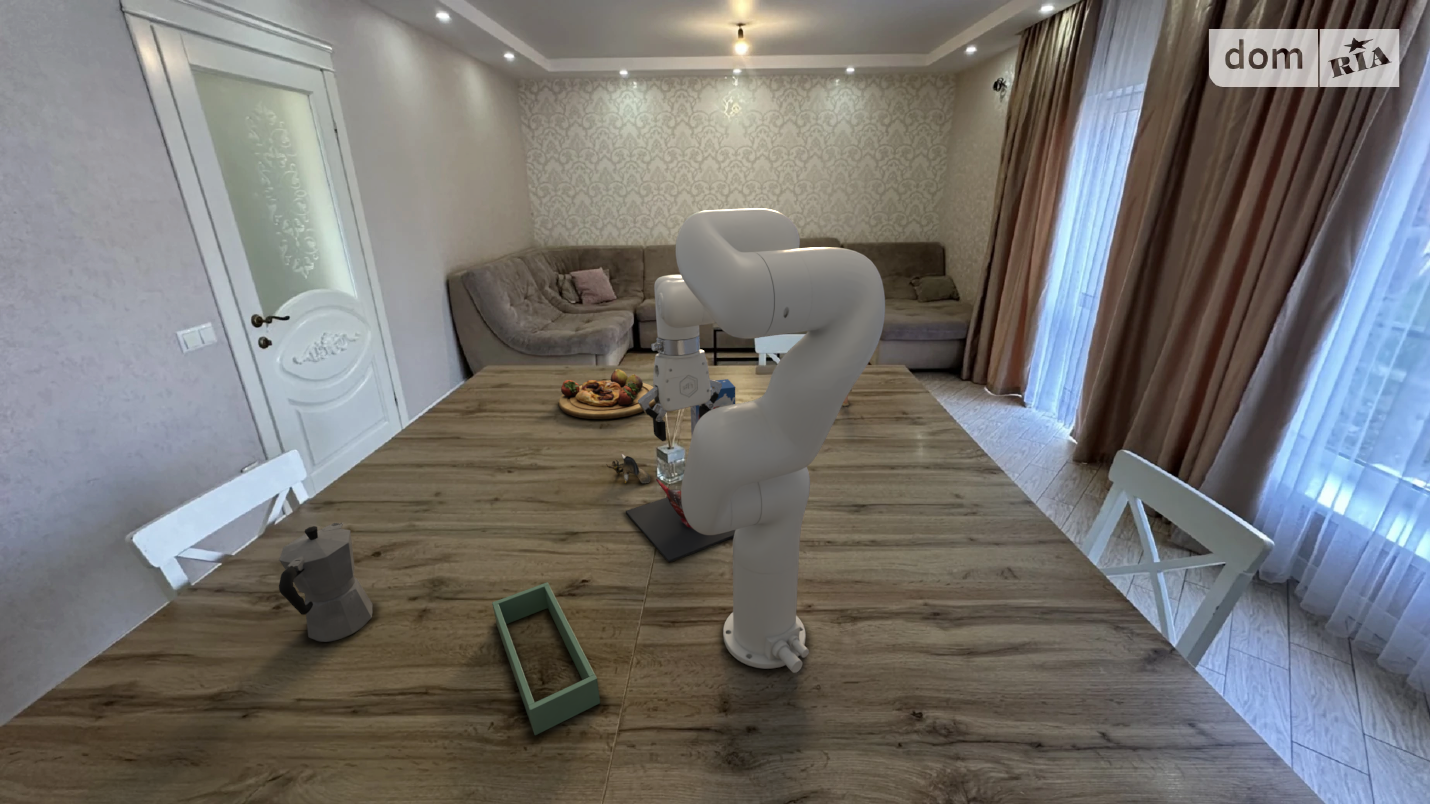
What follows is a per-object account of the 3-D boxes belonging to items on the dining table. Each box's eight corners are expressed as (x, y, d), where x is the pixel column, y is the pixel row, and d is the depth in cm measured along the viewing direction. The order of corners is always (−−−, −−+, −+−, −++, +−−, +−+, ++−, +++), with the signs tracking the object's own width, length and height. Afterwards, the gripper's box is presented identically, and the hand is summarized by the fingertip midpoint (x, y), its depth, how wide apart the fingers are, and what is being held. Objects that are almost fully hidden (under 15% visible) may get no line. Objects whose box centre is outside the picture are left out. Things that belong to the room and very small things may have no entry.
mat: (740, 534, 110) (740, 532, 109) (669, 563, 102) (668, 560, 102) (690, 491, 126) (690, 489, 125) (625, 513, 118) (625, 510, 118)
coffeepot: (333, 596, 95) (303, 506, 89) (390, 591, 96) (364, 502, 89) (276, 668, 81) (235, 567, 74) (344, 662, 82) (309, 562, 75)
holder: (600, 703, 74) (597, 678, 73) (534, 735, 70) (529, 710, 68) (551, 603, 92) (547, 581, 91) (496, 624, 88) (491, 602, 87)
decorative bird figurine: (701, 543, 106) (699, 498, 103) (651, 505, 119) (648, 464, 116) (712, 537, 108) (711, 493, 104) (663, 501, 121) (660, 460, 117)
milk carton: (697, 466, 137) (695, 391, 129) (691, 456, 142) (689, 383, 135) (735, 461, 139) (735, 386, 132) (728, 450, 145) (728, 378, 137)
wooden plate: (539, 415, 170) (535, 390, 167) (590, 382, 198) (587, 360, 195) (634, 426, 161) (631, 399, 158) (673, 389, 189) (671, 366, 186)
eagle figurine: (604, 481, 128) (637, 481, 125) (606, 451, 130) (639, 450, 126) (622, 484, 135) (654, 484, 131) (624, 455, 137) (656, 454, 133)
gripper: (644, 357, 92) (651, 450, 98) (730, 342, 100) (732, 428, 106) (626, 348, 98) (633, 437, 104) (708, 334, 106) (711, 416, 112)
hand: (683, 432), depth 105 cm, fingers open, 9 cm apart
